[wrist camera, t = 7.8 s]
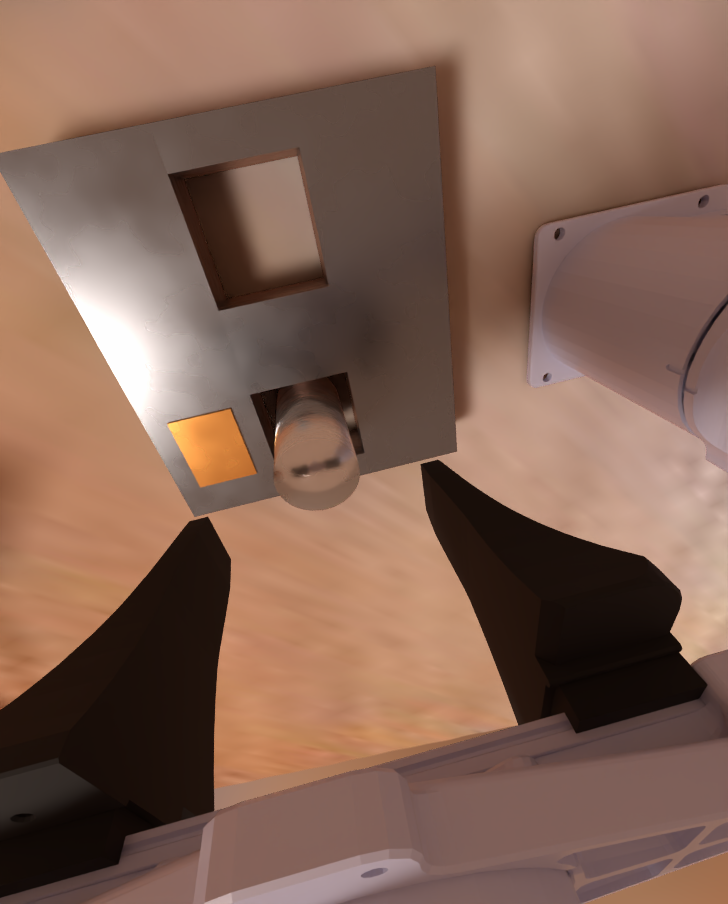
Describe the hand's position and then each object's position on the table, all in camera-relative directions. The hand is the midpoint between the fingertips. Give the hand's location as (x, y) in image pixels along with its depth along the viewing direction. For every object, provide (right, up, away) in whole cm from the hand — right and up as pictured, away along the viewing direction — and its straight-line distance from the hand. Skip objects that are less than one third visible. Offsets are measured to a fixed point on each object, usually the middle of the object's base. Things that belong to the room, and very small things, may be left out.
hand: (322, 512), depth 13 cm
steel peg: (-2, +5, +7) cm, 9 cm away
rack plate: (-2, +8, +5) cm, 10 cm away
